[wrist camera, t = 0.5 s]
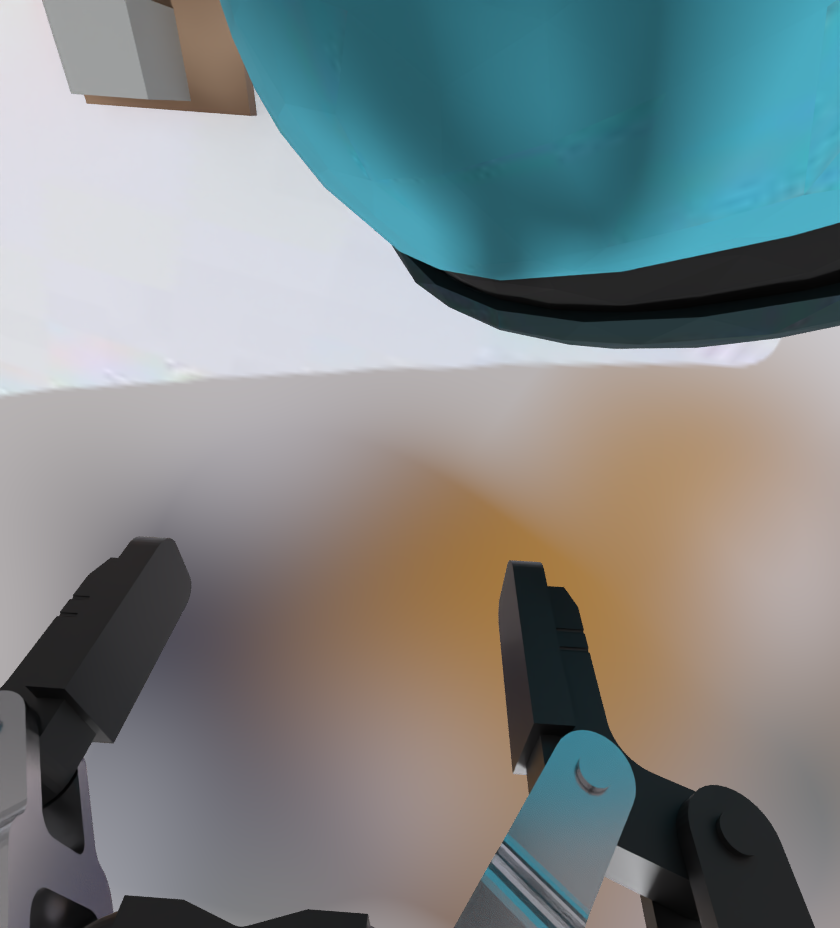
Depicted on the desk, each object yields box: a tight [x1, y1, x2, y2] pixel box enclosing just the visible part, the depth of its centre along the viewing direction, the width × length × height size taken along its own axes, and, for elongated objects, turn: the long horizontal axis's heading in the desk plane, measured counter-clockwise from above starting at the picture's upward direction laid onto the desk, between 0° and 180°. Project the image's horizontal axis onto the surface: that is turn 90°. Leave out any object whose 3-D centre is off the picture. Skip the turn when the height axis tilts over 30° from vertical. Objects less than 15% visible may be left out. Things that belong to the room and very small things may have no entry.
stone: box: [42, 0, 191, 101], centre depth 25 cm, size 4×4×5 cm
